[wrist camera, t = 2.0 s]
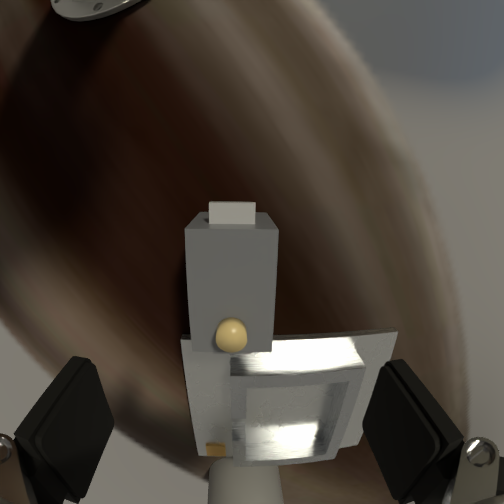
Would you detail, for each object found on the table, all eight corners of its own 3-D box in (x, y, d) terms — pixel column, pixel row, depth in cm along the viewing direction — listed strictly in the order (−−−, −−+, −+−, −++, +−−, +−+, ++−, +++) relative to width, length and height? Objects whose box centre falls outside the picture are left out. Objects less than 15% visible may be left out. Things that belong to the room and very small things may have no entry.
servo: (200, 195, 19) (180, 208, 12) (266, 196, 19) (282, 209, 13) (203, 318, 22) (191, 376, 15) (262, 319, 22) (272, 377, 15)
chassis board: (182, 334, 22) (175, 357, 19) (394, 327, 23) (411, 345, 20) (199, 450, 26) (196, 472, 23) (355, 439, 27) (363, 459, 24)
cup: (286, 456, 27) (298, 526, 18) (269, 485, 29) (276, 545, 20) (213, 451, 26) (210, 525, 17) (206, 481, 28) (203, 543, 19)
